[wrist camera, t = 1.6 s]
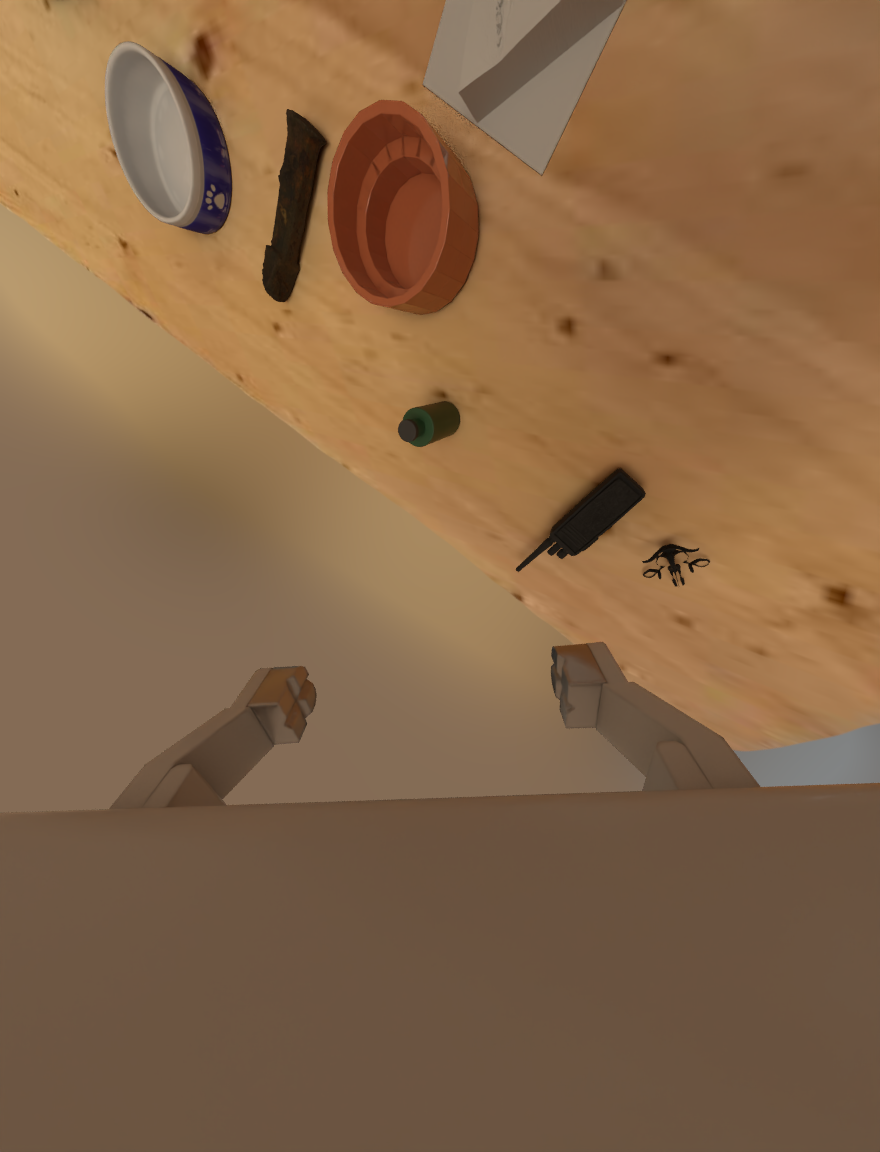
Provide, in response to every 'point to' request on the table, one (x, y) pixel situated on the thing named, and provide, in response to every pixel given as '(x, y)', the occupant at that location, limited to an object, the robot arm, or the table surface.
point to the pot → (401, 210)
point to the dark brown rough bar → (291, 206)
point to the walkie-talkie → (591, 516)
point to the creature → (672, 560)
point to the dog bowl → (167, 140)
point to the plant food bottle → (429, 423)
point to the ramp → (519, 66)
